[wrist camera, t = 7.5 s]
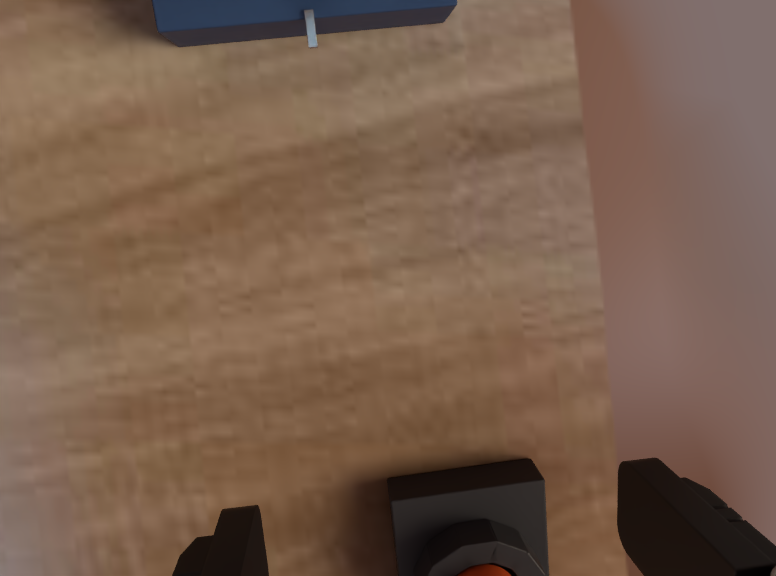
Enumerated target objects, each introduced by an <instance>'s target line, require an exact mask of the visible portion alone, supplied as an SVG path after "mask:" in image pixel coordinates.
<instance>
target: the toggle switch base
mask: <svg viewBox="0 0 776 576" xmlns="http://www.w3.org/2000/svg"><path fill="white" fill-rule="evenodd" d="M152 4H153V10H154V15H155V20H156V26H157V31H158V32H159V33H160V34H161V35H163V36H164V37H166V38H167V39H168V40H170V41H171V42H172V43H174V44H175V45H177V46H178V47H186V46H197V45H208V44H218V43H229V42H240V41H251V40H261V39H272V38H283V37H294V36H305V35H307V37H308V45H309V48H318V44H317V36H316V34H326V33H337V32H348V31H359V30H369V29H380V28H391V27H402V26H412V25H423V24H434V23H443V22H444V21H445V20H446V19H447V17H448V16H449V15H450V13H451V12H452V11H453V9H454V8H455V7H456V5H457V0H152Z"/></svg>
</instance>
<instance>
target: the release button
mask: <svg viewBox="0 0 776 576" xmlns="http://www.w3.org/2000/svg"><path fill="white" fill-rule="evenodd" d="M457 576H511V575H510V573H508V572H507V571H506V570H505V569H503V568H501V567H499V566H496V565H491V564H480V565H475V566H472V567H469V568H467V569H465V570H464V571H462V572H461V573H459V574H458V575H457Z"/></svg>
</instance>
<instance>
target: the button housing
mask: <svg viewBox="0 0 776 576" xmlns="http://www.w3.org/2000/svg"><path fill="white" fill-rule="evenodd" d="M387 483H388V492H389V500H390V509H391V518H392V526H393V535H394V544H395V552H396V561H397V569H398V576H457V575H458V574H459V573H461V572H462V571H464V570H465V569H467V568H469V567H472V566H475V565H480V564H491V565H496V566H499V567H501V568H503V569H505V570H506V571H507V572H508V573H510V575H511V576H549V565H548V543H547V521H546V499H545V480H544V478H543V477H542V475H541V474H540V472H539V470H538V469H537V467H536V466H535V464H534V463H533V461H532V460H531V459H523V460H516V461H509V462H502V463H495V464H488V465H480V466H473V467H466V468H459V469H452V470H445V471H438V472H431V473H424V474H417V475H409V476H402V477H395V478H389V479H388V480H387Z"/></svg>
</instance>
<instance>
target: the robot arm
mask: <svg viewBox="0 0 776 576" xmlns="http://www.w3.org/2000/svg"><path fill="white" fill-rule="evenodd" d="M617 526H618V532H619V536H620V540H621V542H622V545H623V547H624V549H625V551H626V553H627V554H628V555H629V557H630V558H631V559H632V561H633V562H634V563H635V565H636V566H637V567H638V569H639V570H640V571H641V573H642V574H643V575H644V576H776V546H775V545H774V544H773V543H772V542H770V541H769V540H768V539H767V538H766V537H765V536H763V535H762V534H761V533H760V532H759V531H757V530H756V529H755V528H754V527H753V526H752V525H751V524H749V523H748V522H747V521H746V520H745V521H743V520H742V517H741V516H740V515H739V514H738V513H737V512H735V511H734V510H733V509H732V508H728V506H727V504H726V503H725V502H724V501H723V500H721V499H720V498H719V497H718V496H717V495H716V494H714V493H713V492H712V491H711V490H710V489H708V488H706V487H704V486H702V485H700V484H698V483H696V482H694V481H692V480H690V479H688V478H680V477H678V476H677V475H676V474H675V473H674V472H673V471H672V470H670V468H668V467H667V466H666V465H665V464H664V463H663V462H662V461H661V460H659V459H657V458H648V459H639V460H631V461H623V462H621V464H620V465H619V469H618V508H617ZM172 576H269V573H268V564H267V556H266V549H265V542H264V535H263V527H262V520H261V513H260V509H259V506H258V505H253V506H245V507H236V508H228V509H223V510H222V511H221V514H220V517H219V520H218V523H217V526H216V529H215V532H214V535H212V536H204V537H197V538H196V539H195V540H194V541H193V542H192V543H191V544H190V545H189V546H188V547H187V549H186V550H185V551H184V552H183V553H182V554H181V555H180V557H179V559H178V562H177V565H176V567H175V570H174V572H173V575H172Z"/></svg>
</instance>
